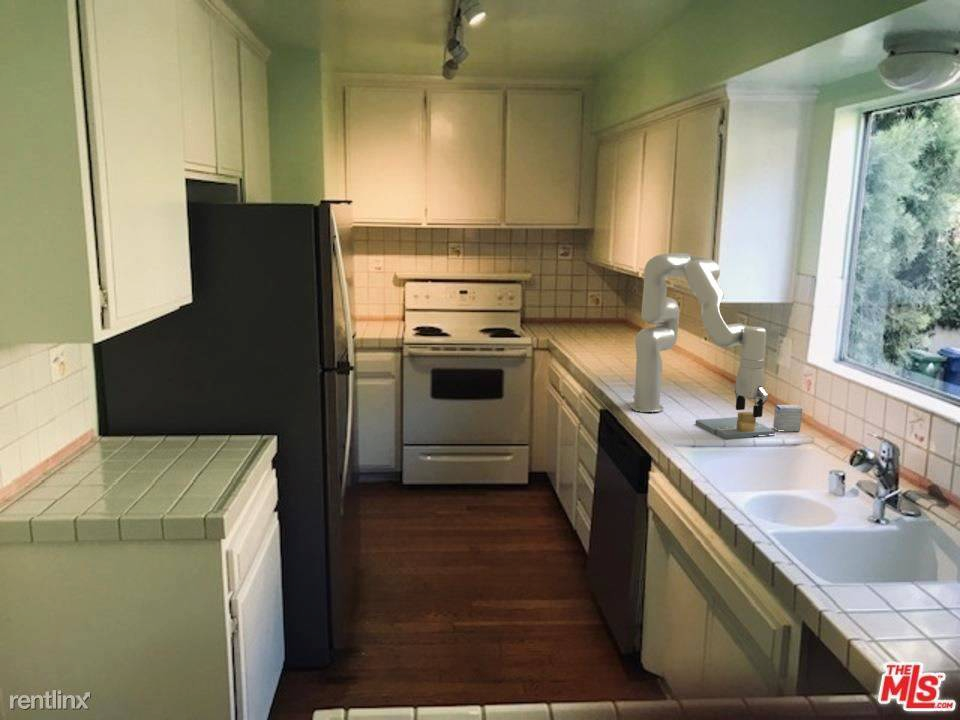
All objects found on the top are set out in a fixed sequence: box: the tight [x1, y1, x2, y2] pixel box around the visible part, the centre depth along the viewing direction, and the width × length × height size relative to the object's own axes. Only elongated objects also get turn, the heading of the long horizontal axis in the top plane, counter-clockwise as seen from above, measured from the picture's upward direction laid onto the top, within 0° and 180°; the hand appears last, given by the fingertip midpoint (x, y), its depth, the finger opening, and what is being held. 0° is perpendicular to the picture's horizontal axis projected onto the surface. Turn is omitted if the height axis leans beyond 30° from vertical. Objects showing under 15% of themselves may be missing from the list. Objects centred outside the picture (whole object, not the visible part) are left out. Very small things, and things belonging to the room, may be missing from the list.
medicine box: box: [772, 404, 804, 432], centre depth 259 cm, size 8×4×9 cm, turn 92°
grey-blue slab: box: [715, 411, 776, 440], centre depth 252 cm, size 6×19×8 cm, turn 105°
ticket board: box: [695, 416, 765, 435], centre depth 261 cm, size 12×20×2 cm, turn 105°
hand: (748, 413), depth 251 cm, fingers open, 9 cm apart
